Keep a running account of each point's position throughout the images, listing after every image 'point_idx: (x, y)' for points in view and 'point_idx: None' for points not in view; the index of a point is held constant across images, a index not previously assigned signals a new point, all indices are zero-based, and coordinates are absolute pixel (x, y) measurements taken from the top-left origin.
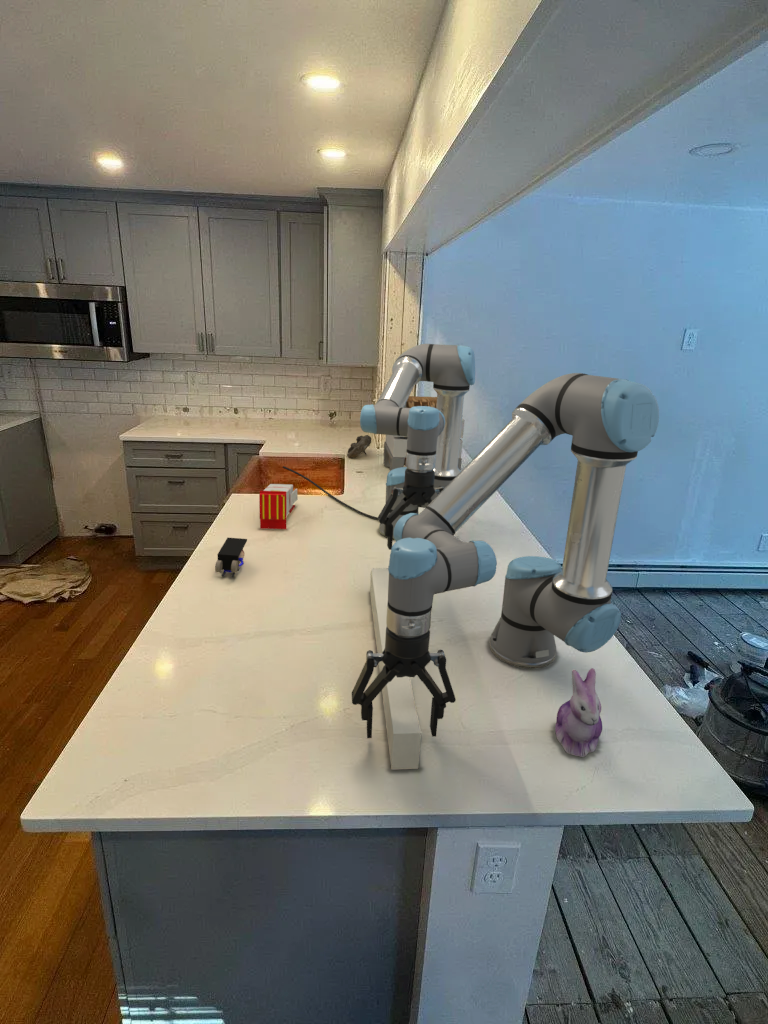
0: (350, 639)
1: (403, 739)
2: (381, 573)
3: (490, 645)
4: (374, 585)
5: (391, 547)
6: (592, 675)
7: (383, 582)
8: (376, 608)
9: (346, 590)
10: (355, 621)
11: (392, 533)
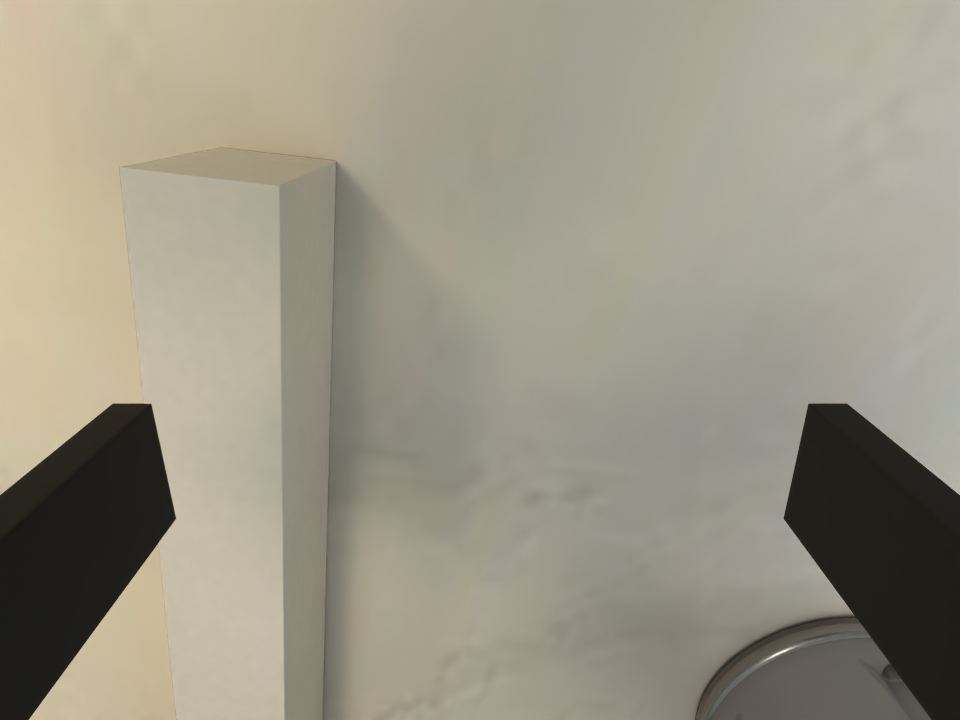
0: None
1: None
2: (214, 288)
3: (705, 712)
4: None
5: (153, 538)
6: None
7: (225, 434)
8: (174, 701)
9: (50, 83)
10: None
11: (30, 704)
